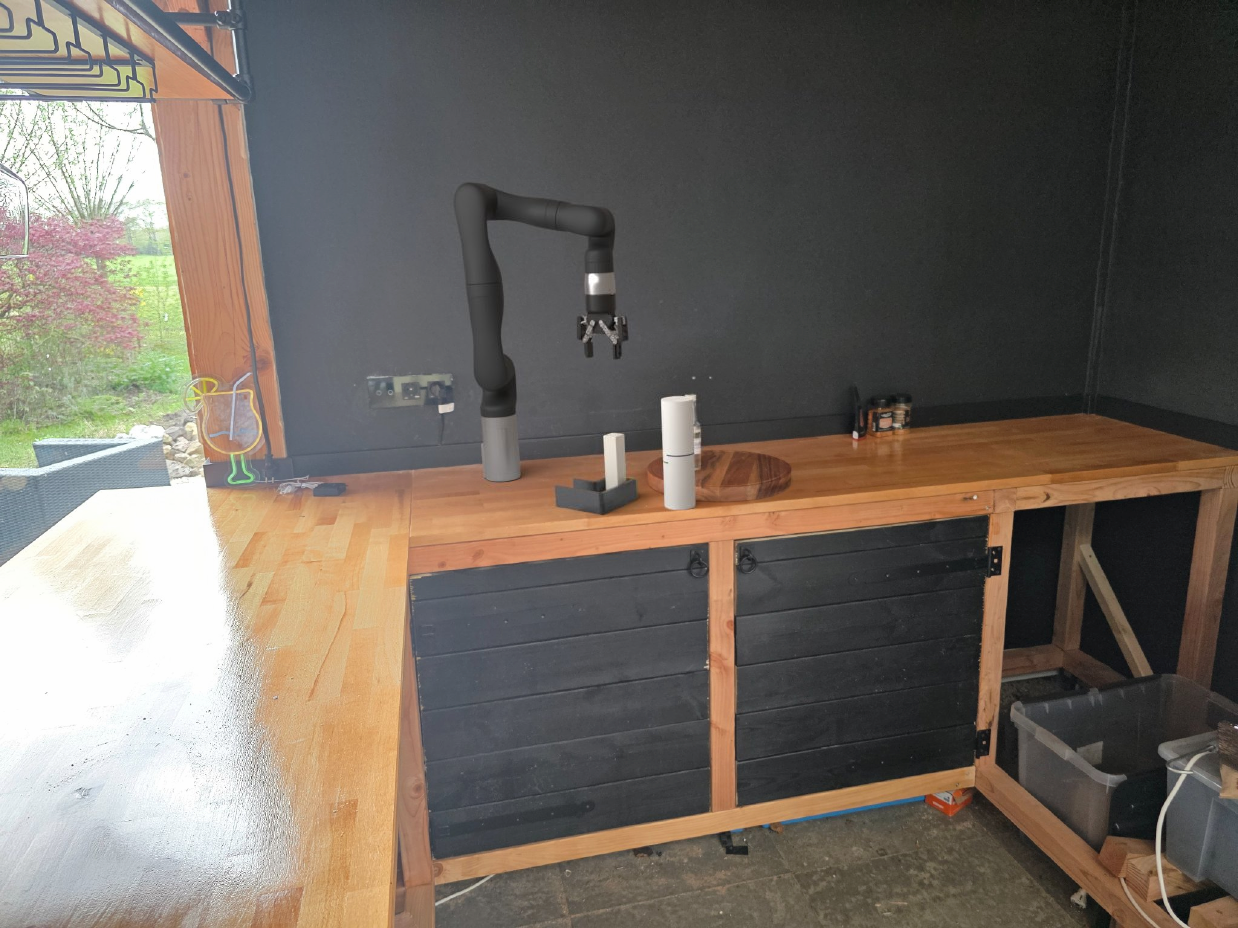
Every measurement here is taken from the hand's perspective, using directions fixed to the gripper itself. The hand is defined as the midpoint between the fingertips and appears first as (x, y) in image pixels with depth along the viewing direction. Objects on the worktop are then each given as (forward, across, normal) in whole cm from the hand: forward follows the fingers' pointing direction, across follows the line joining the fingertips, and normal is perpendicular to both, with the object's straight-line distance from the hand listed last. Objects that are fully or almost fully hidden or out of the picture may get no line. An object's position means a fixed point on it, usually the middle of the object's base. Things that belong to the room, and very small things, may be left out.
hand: (603, 358), depth 209 cm
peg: (+32, +12, -12) cm, 36 cm away
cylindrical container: (+32, +27, -8) cm, 43 cm away
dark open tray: (+32, +9, -16) cm, 37 cm away
